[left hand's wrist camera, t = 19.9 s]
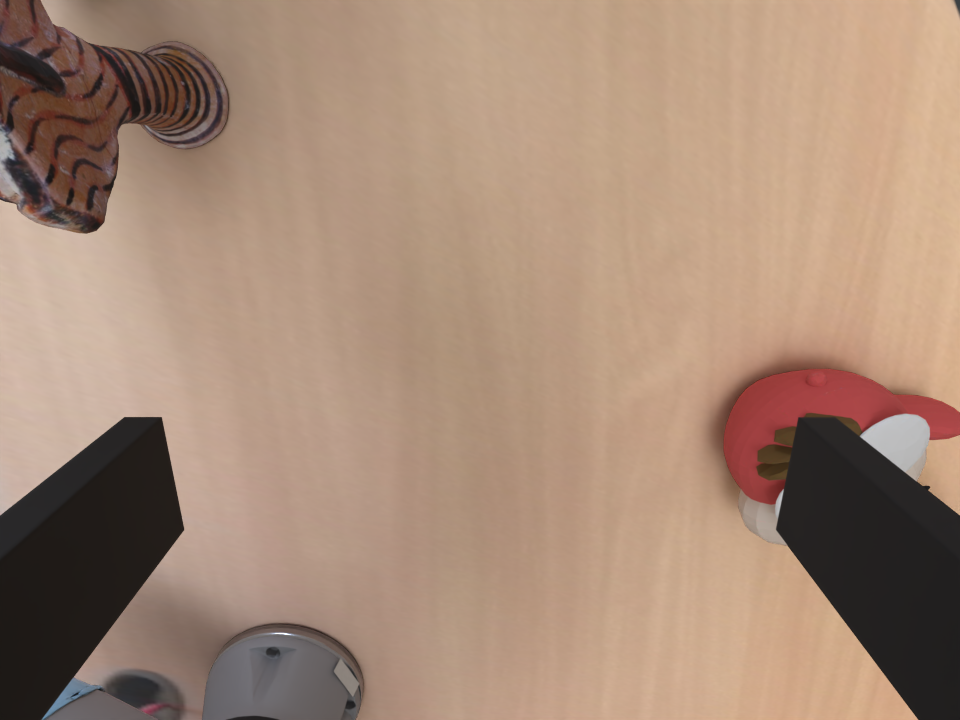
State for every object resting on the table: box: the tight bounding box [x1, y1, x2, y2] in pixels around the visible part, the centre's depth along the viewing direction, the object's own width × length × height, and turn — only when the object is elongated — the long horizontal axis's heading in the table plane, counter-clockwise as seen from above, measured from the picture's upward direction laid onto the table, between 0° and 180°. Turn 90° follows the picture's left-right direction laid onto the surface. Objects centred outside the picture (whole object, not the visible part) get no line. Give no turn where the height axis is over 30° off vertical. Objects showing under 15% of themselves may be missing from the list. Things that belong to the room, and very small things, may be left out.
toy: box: [724, 369, 960, 546], centre depth 50 cm, size 18×10×30 cm
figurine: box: [0, 0, 228, 233], centre depth 29 cm, size 15×8×30 cm, turn 26°
